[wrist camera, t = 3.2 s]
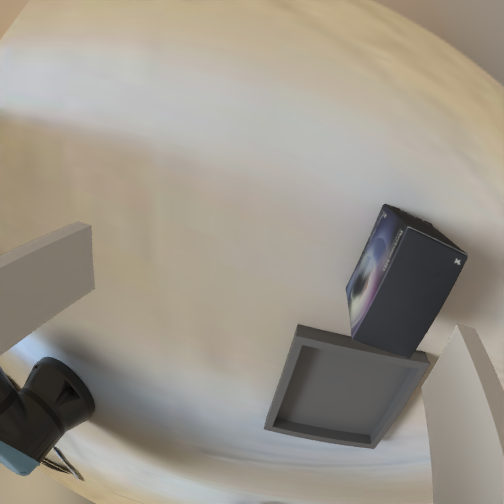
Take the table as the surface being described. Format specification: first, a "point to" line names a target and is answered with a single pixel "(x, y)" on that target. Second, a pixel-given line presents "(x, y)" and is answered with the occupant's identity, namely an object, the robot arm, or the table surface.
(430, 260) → the small box
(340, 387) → the holder tray
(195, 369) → the table surface
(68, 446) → the table surface
